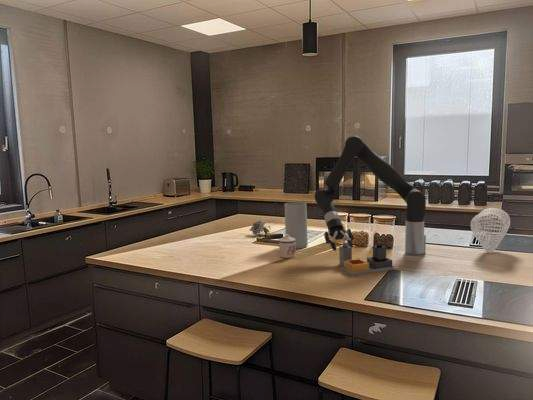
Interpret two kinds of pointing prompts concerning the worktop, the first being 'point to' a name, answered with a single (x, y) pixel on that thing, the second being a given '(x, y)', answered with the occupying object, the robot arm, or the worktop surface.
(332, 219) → the robot arm
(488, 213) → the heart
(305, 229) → the cylinder vase
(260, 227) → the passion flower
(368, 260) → the multicoloured piece
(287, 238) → the teacup with lid
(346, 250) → the plug
